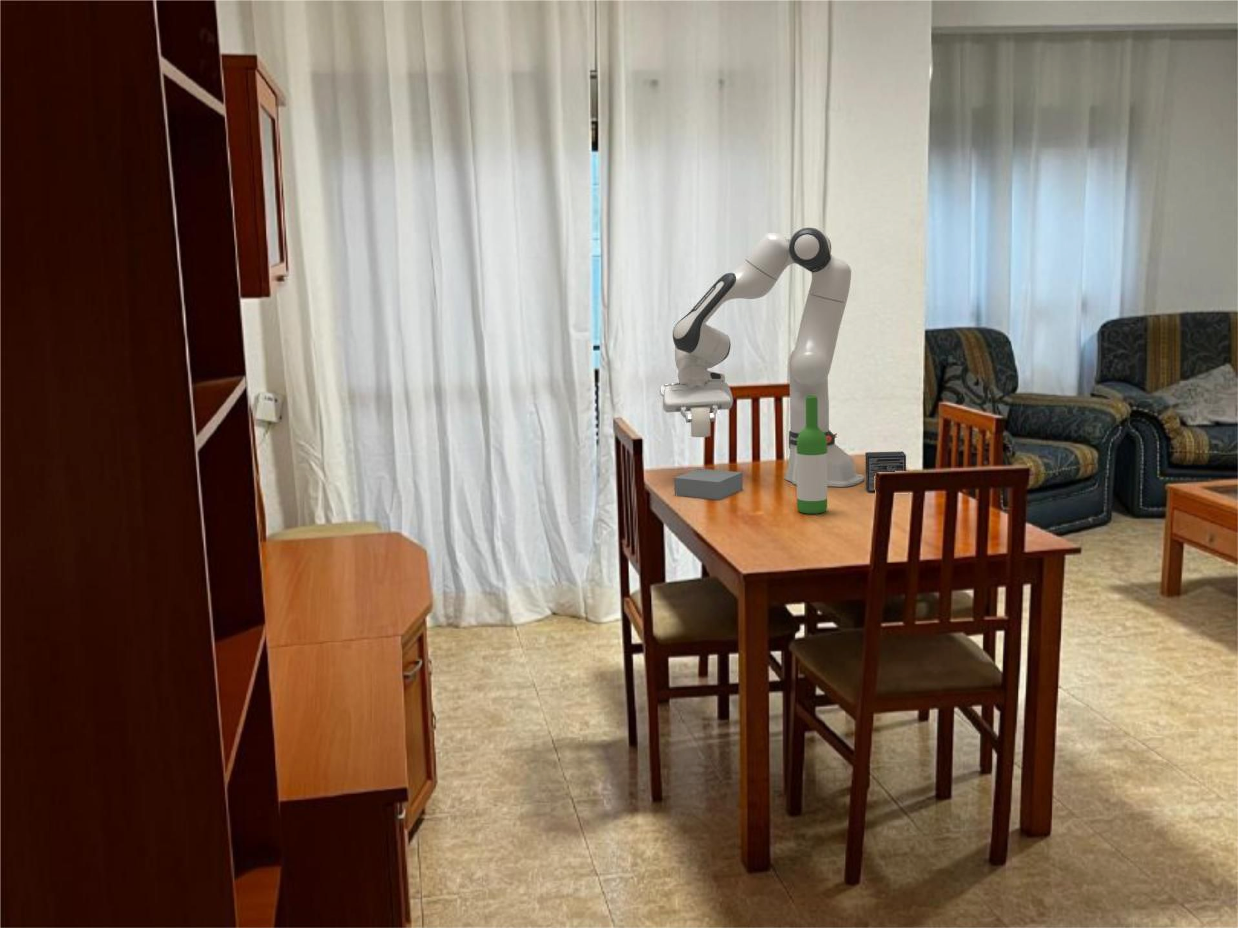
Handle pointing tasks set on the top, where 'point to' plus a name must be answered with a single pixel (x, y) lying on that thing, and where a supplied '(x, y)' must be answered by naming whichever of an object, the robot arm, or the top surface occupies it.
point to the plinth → (708, 484)
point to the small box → (882, 465)
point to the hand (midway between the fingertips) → (700, 420)
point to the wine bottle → (811, 463)
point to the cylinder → (700, 421)
